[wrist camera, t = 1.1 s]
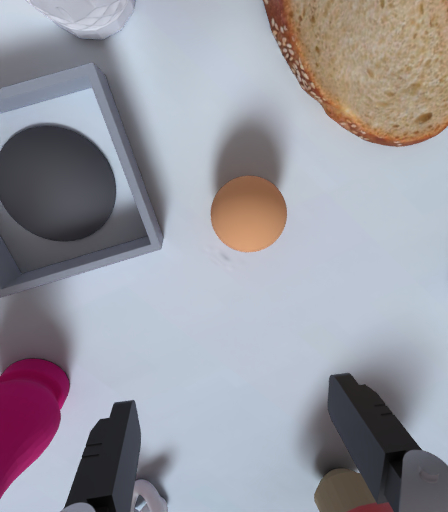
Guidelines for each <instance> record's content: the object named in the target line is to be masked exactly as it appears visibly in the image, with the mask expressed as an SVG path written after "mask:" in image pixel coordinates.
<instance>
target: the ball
mask: <svg viewBox="0 0 448 512" xmlns="http://www.w3.org/2000/svg"><path fill="white" fill-rule="evenodd" d="M286 218H287V208H286V203H285V200H284V198H283V196H282V194H281V192H280V191H279V190H278V188H277V187H276V186H275V185H274V184H272V183H271V182H269V181H268V180H266V179H264V178H261V177H257V176H241V177H237V178H235V179H232V180H231V181H229V182H227V183H226V184H225V185H224V186H223V187H221V189H220V190H219V191H218V192H217V194H216V196H215V198H214V200H213V203H212V207H211V222H212V226H213V229H214V231H215V233H216V234H217V236H218V237H219V239H220V240H221V241H222V242H223V243H224V244H226V245H227V246H229V247H230V248H232V249H235V250H237V251H241V252H256V251H260V250H262V249H265V248H267V247H268V246H270V245H271V244H273V243H274V242H275V241H276V240H277V239H278V238H279V236H280V235H281V233H282V231H283V229H284V227H285V224H286Z"/></svg>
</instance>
